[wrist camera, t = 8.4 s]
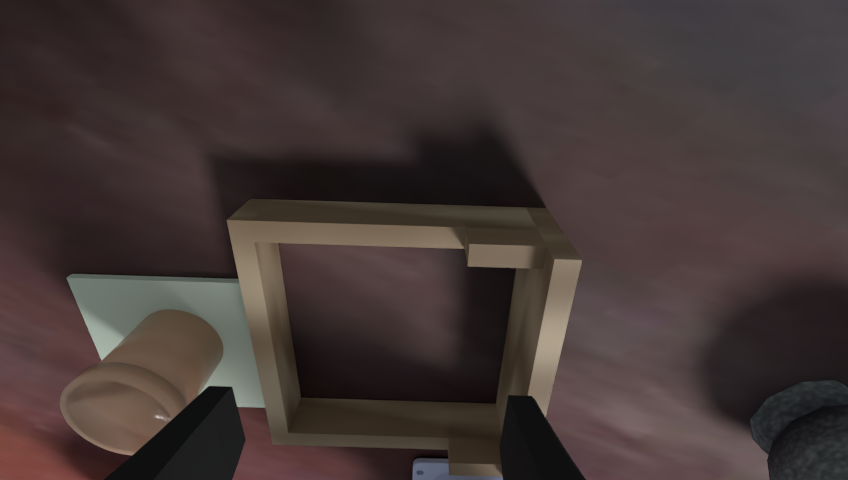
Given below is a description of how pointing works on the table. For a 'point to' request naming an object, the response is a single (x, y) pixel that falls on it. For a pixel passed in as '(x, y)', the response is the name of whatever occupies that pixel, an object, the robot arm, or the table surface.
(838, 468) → the mortar and pestle
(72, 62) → the table surface
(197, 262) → the table surface
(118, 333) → the mat
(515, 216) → the wooden frame
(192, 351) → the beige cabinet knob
